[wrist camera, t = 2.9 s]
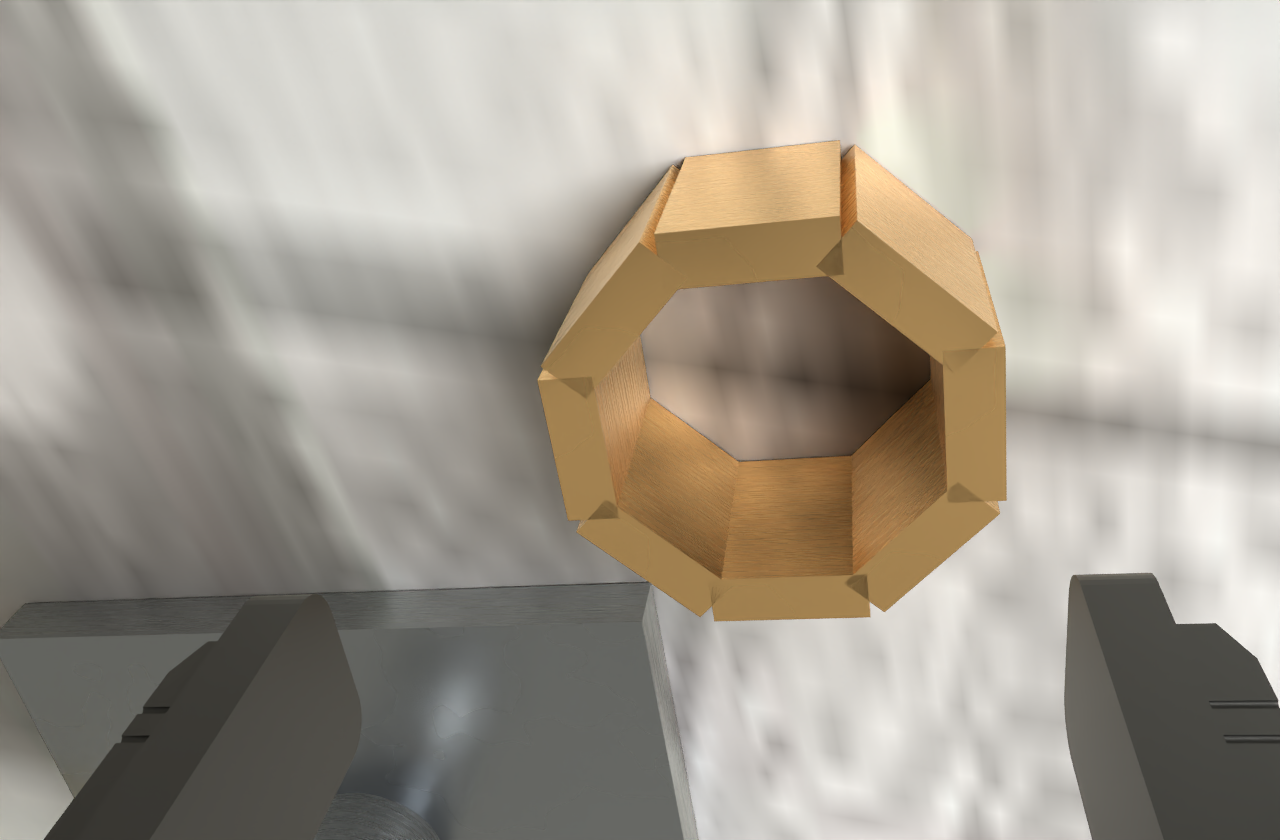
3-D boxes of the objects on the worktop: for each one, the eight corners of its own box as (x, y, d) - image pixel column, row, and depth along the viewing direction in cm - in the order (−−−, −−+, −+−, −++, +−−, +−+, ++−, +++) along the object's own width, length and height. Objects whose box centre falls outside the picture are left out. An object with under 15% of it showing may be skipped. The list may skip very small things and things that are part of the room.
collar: (975, 124, 17) (1004, 199, 14) (982, 487, 20) (1007, 614, 17) (562, 170, 18) (508, 248, 15) (626, 505, 21) (590, 624, 18)
